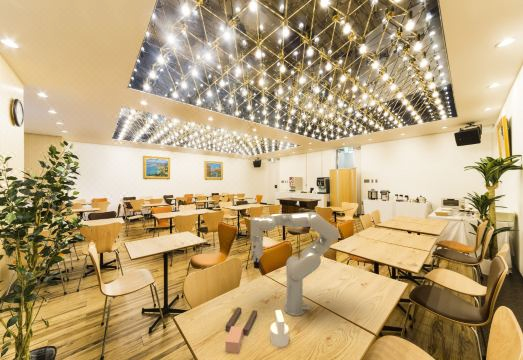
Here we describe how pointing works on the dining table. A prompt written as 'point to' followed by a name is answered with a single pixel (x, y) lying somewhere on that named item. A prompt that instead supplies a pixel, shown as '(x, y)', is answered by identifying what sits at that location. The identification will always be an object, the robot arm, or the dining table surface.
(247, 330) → the chute
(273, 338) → the base with upright slab
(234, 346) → the block
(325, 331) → the dining table surface
